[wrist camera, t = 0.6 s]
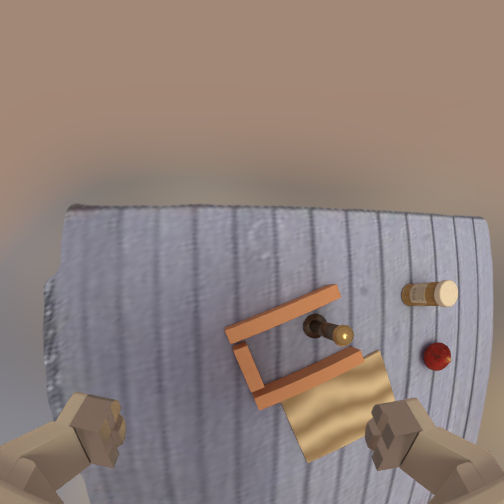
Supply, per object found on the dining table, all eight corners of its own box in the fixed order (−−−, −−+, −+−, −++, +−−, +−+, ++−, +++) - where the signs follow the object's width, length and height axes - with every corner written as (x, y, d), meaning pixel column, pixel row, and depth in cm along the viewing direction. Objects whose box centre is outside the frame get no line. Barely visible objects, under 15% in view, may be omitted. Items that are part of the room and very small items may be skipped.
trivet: (396, 413, 55) (399, 415, 54) (306, 460, 53) (307, 463, 51) (377, 350, 57) (379, 350, 55) (278, 397, 54) (279, 399, 53)
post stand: (329, 331, 56) (365, 343, 41) (308, 341, 56) (338, 358, 40) (321, 310, 57) (355, 315, 41) (299, 319, 56) (327, 329, 40)
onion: (412, 361, 57) (434, 368, 49) (423, 336, 58) (446, 340, 50) (430, 370, 57) (452, 377, 49) (441, 346, 58) (463, 350, 50)
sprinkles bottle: (413, 309, 58) (454, 310, 45) (397, 301, 58) (437, 301, 45) (420, 288, 59) (461, 285, 46) (404, 279, 59) (444, 275, 46)
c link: (256, 401, 54) (259, 410, 49) (224, 327, 55) (224, 330, 50) (353, 357, 56) (364, 361, 51) (327, 285, 57) (336, 284, 52)
